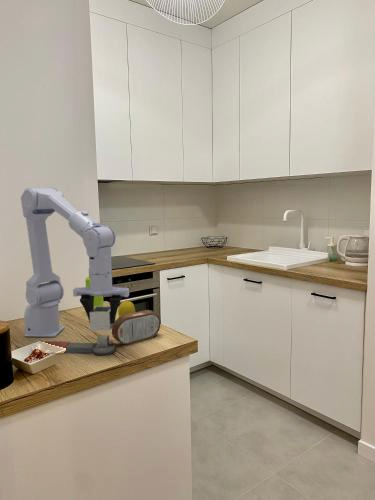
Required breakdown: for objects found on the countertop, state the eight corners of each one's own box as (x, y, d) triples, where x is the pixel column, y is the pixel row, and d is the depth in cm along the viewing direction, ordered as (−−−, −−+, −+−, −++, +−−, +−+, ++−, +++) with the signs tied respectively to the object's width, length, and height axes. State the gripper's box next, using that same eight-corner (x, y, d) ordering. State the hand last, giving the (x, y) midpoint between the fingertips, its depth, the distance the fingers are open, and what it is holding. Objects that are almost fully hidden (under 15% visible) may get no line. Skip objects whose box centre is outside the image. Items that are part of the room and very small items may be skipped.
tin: (156, 333, 113) (156, 306, 112) (162, 336, 111) (162, 309, 109) (111, 345, 104) (110, 316, 103) (116, 348, 102) (115, 319, 100)
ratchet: (33, 355, 98) (32, 340, 97) (43, 346, 103) (42, 331, 103) (111, 356, 97) (111, 341, 96) (117, 347, 103) (116, 332, 102)
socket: (90, 330, 96) (89, 312, 96) (95, 323, 102) (95, 306, 101) (109, 330, 96) (109, 312, 95) (114, 323, 101) (114, 306, 101)
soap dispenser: (93, 318, 126) (91, 261, 123) (83, 313, 131) (81, 258, 128) (108, 314, 130) (106, 259, 127) (98, 310, 135) (96, 256, 132)
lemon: (132, 326, 118) (131, 302, 117) (115, 325, 119) (115, 301, 118) (137, 321, 124) (137, 298, 122) (122, 320, 125) (121, 297, 123)
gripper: (67, 275, 93) (70, 326, 95) (124, 276, 92) (126, 327, 94) (77, 269, 100) (79, 317, 102) (130, 270, 99) (131, 318, 101)
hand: (102, 322), depth 99 cm, fingers closed on socket, 5 cm apart
